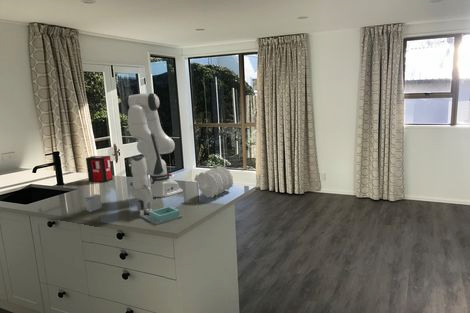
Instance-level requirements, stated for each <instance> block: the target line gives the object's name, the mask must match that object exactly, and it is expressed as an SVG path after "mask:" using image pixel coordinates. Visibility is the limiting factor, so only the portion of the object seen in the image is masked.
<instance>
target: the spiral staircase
mask: <svg viewBox="0 0 470 313" xmlns="http://www.w3.org/2000/svg"><path fill="white" fill-rule="evenodd" d="M233 178H234V177H233V174H232V173H231V171H230V169H227V168H225V166H221V167H220V166H219V165H218V166H216V167H214V168H213V167H211V168H210V169H209V170H208V169H207V171H205V172H204V171H202V172H200V173H198V174H195V177H194V181H196V183H198V189H199V191H200V192H201V195H203V196H205V197H206V199H207V198H212V199H213V198H214V197H215V195H216V196H218V195H219V194H222V192H223V193H225V191H226V190H227V191H229V189H231V188H233V186H234V185H233V184H234V180H233Z"/></svg>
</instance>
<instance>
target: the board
mask: <svg viewBox="0 0 470 313" xmlns="http://www.w3.org/2000/svg"><path fill="white" fill-rule="evenodd" d="M154 210H155V209H154ZM154 210H153V209H152V208H150V210H149V209H143V210H140V212H139V214H138V216H139V217H140V218H142V219H144V220H145V221H146V220H147V221H148V222H150V223H152V224H154V225H156V226H159V225H161V224H165V223H168V222H173V221H174V220H178V219H181V218H183V217H182V215H181V214H180V216H177V217H174V218H170V219H167V220H163V221H158V220H156V219H154V218H152V217H150V215H144V211H145V212H147V213H148V212H149V213H150V211H154ZM168 213H170V212H168ZM164 214H166V213H164ZM161 215H163V214H161Z"/></svg>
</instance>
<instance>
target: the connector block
mask: <svg viewBox="0 0 470 313" xmlns="http://www.w3.org/2000/svg"><path fill="white" fill-rule="evenodd" d="M143 205H144V202H143V201H142V200H139V201H138V200H136V210H137V212H139V213H140V210H143V209H149V211H150V209H151V206H150V205H151V204H150V202H148V204H147V208H144V207H143Z"/></svg>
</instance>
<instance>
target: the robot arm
mask: <svg viewBox="0 0 470 313" xmlns="http://www.w3.org/2000/svg"><path fill="white" fill-rule="evenodd" d="M122 103H123V104H122V105H123V108H124V110H125V111H126V113H127V125H128V132H129V134H130V135H131V137H133V138H134V139H135V140H136V139H137V140H138V141H137V142H136V148H137V151H138V152H139V153H140V154H141V155H135V156H133V157H132V158H131V161H130V164H131V165H130V170H131V171H130V172H131V174H132V180H131V181H130V182H129V185H130V189H131V190H130V191H131V194H132V197H133V198H135V199H137V201H139V200H142V201H143V202H144V205H143V207H144V208H147V204H148V202H149V203H152V202H153V198H167V197H170V196H171V197H172V196H174V195H176V194H180V193H182V192H183V189H182V188H181V187H180V185H179V183H178V182H177V181H175V180H174V179H172V178H171V177H173V174H172V173H170V172H168V171H167V163H166V161H165V160H164V159H162V156H161V155H164V154H165V155H167V154H170V153H172V152H173V151H174V150H175V148H176V147H175V146H176V145H175V141H174V140H173V139H172V138H171V137H170V136H168V135H167V134H166V133H165V132H164V130H163V128H162V126H161V125H162V124H161V121H160V117H159V113H158V109H159V108H160V99H159V96H158V95H157V94H156V93H151V92H149V93H138V94H129V95H126V96H125V97H124V98H123V101H122ZM149 182H150V183H149ZM149 185H150V186H149Z"/></svg>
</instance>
